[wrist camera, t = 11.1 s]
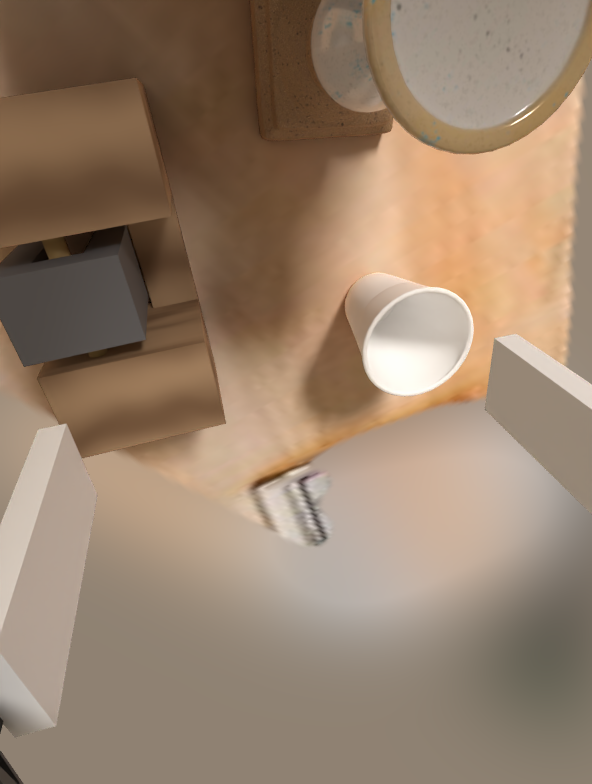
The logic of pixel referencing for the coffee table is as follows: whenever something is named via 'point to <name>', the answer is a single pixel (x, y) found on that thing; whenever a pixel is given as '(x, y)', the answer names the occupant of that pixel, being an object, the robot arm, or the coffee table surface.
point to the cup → (408, 332)
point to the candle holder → (417, 67)
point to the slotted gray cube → (73, 298)
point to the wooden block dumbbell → (153, 248)
